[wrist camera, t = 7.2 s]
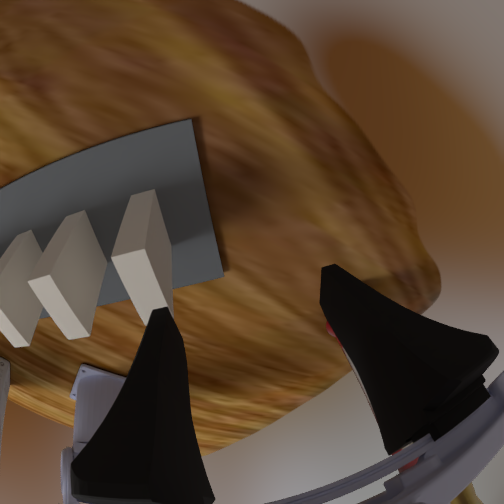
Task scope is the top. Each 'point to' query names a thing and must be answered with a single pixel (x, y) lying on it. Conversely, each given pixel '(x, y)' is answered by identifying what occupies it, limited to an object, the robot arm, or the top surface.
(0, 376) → the skincare box
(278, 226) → the top surface
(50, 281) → the domino
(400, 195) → the top surface
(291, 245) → the top surface
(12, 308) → the domino
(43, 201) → the runner mat
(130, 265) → the domino
